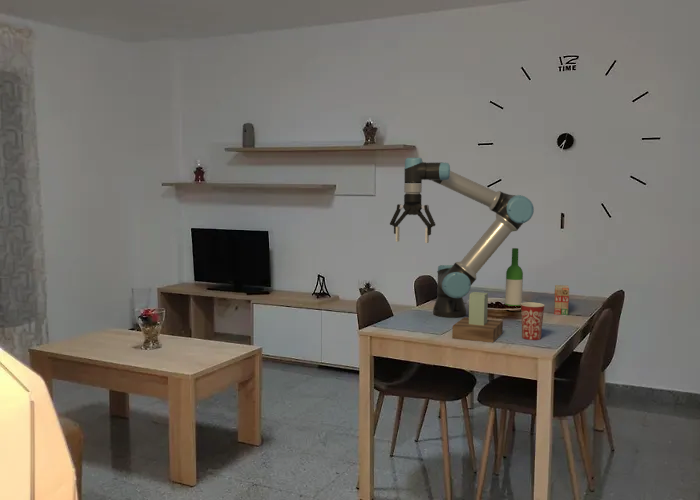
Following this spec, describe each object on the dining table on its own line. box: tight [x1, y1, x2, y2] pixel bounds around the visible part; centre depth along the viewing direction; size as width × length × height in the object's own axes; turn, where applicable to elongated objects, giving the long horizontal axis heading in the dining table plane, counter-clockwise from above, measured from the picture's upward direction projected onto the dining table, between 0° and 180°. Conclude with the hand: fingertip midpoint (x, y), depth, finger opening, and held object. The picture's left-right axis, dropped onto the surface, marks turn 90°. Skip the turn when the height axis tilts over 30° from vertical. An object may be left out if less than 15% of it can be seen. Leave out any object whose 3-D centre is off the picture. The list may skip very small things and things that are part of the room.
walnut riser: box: [451, 316, 504, 344], centre depth 262 cm, size 18×16×5 cm
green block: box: [468, 291, 489, 325], centre depth 261 cm, size 6×6×12 cm
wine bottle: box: [504, 247, 524, 306], centre depth 312 cm, size 8×8×30 cm
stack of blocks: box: [553, 284, 570, 316], centre depth 315 cm, size 21×6×12 cm, turn 163°
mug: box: [520, 301, 545, 341], centre depth 259 cm, size 13×9×14 cm
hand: (412, 242), depth 288 cm, fingers open, 13 cm apart
